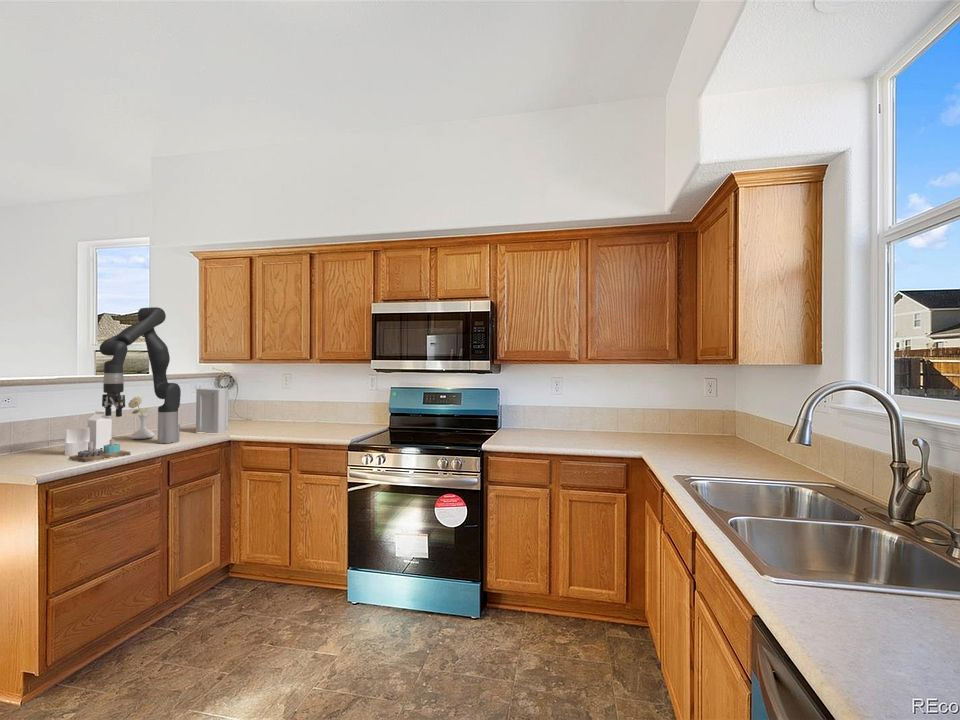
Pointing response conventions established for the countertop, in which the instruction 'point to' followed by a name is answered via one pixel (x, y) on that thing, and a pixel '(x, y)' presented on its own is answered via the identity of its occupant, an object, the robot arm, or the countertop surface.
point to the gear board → (96, 453)
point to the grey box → (212, 410)
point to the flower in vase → (143, 431)
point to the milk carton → (100, 429)
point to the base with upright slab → (76, 440)
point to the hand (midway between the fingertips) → (113, 416)
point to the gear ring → (111, 449)
